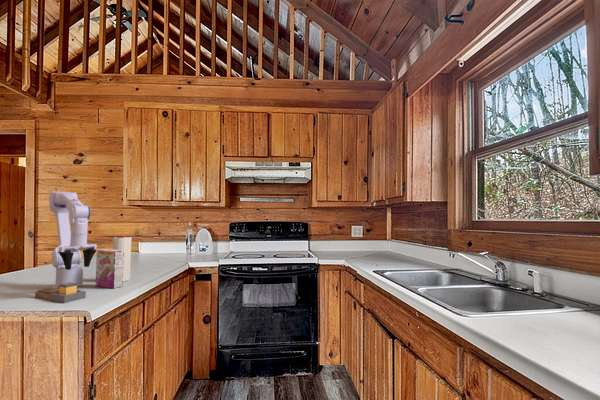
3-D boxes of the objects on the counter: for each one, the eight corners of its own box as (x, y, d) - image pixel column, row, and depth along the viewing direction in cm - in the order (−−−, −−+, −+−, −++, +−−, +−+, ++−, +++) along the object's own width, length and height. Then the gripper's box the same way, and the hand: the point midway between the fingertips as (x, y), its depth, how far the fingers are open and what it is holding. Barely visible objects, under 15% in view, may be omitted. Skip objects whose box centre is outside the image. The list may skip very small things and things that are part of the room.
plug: (69, 295, 127) (69, 282, 127) (76, 296, 125) (76, 283, 126) (58, 297, 123) (59, 284, 123) (65, 298, 122) (66, 285, 122)
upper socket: (59, 292, 134) (59, 285, 134) (74, 294, 131) (74, 287, 131) (34, 297, 126) (35, 290, 126) (50, 300, 123) (50, 292, 123)
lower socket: (71, 295, 129) (71, 289, 129) (85, 297, 127) (85, 291, 127) (49, 300, 122) (50, 293, 122) (64, 303, 119) (64, 295, 119)
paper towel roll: (109, 283, 153) (111, 237, 154) (113, 280, 159) (115, 236, 159) (126, 282, 154) (128, 237, 155) (129, 279, 160) (131, 236, 161)
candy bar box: (94, 286, 145) (96, 249, 146) (104, 284, 150) (106, 248, 150) (113, 289, 141) (115, 251, 142) (123, 286, 146) (124, 250, 147)
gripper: (67, 236, 125) (66, 271, 125) (102, 234, 139) (101, 266, 138) (55, 235, 128) (53, 270, 127) (90, 233, 141) (89, 265, 141)
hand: (77, 268), depth 133 cm, fingers open, 7 cm apart
